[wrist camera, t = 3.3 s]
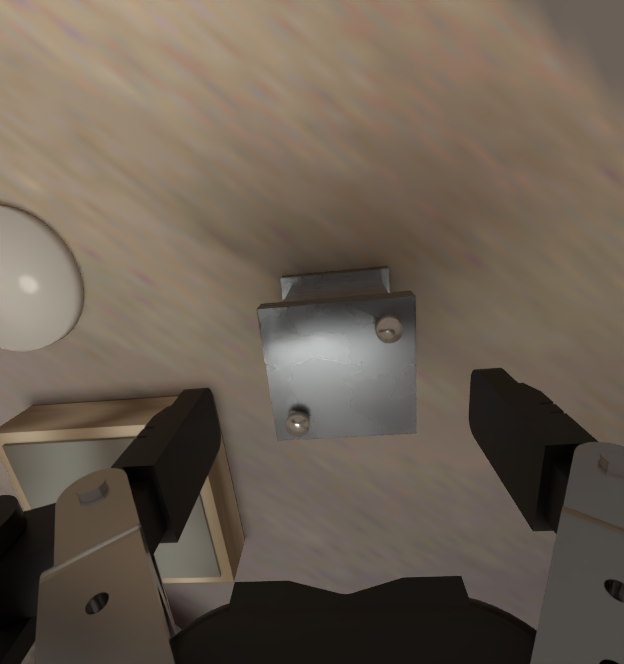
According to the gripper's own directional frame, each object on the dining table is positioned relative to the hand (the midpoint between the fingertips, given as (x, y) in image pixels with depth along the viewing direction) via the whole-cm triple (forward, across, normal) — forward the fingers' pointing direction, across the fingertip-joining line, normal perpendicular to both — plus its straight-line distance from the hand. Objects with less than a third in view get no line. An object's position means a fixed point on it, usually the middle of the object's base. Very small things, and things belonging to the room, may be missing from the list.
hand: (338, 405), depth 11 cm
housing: (+9, 0, 0) cm, 9 cm away
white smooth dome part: (+10, +18, -4) cm, 21 cm away
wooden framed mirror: (+9, +14, +10) cm, 20 cm away
